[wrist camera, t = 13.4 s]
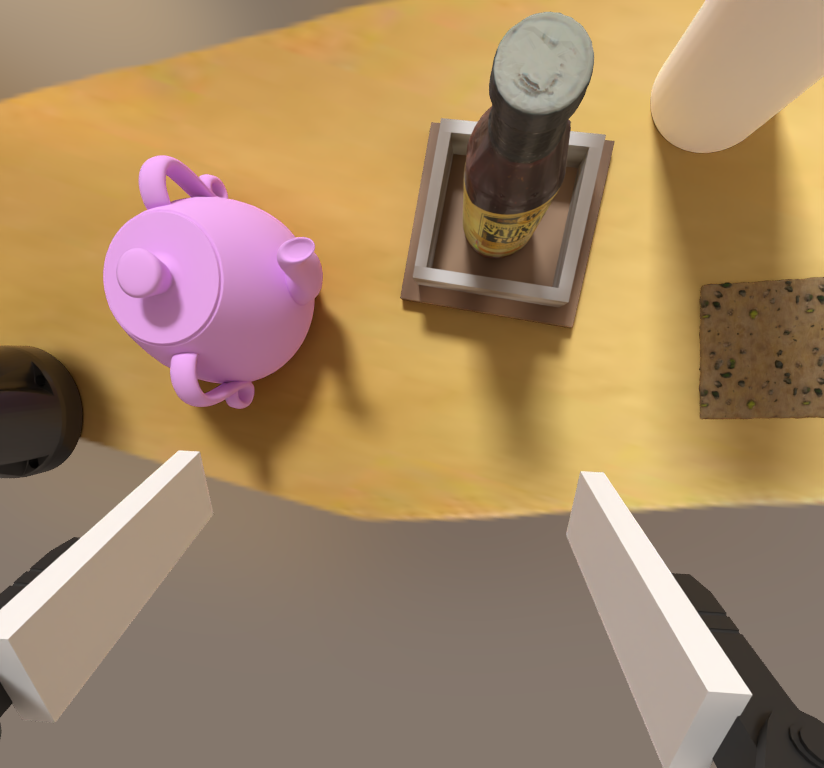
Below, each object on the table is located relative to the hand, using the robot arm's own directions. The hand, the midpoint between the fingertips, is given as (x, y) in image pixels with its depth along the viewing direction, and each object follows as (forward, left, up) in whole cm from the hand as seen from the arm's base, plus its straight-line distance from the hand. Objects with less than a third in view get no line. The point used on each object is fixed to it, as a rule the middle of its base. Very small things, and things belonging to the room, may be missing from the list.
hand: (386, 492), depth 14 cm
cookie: (+27, +10, -26) cm, 39 cm away
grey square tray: (+2, +17, -25) cm, 30 cm away
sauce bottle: (+2, +17, -24) cm, 30 cm away
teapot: (-20, +7, -25) cm, 33 cm away
